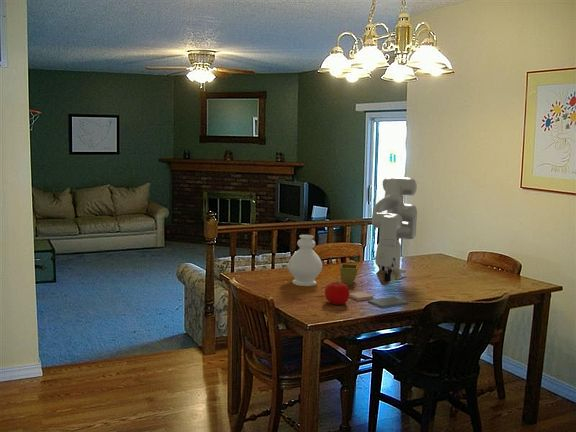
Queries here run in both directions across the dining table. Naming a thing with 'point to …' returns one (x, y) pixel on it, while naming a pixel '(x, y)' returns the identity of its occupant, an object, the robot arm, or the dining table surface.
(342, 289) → the tomato
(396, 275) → the turner
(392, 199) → the robot arm
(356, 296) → the tile
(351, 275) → the flower pot
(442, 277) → the dining table surface
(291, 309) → the dining table surface
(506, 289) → the dining table surface
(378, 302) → the trivet
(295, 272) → the decorative vase
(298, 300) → the dining table surface
